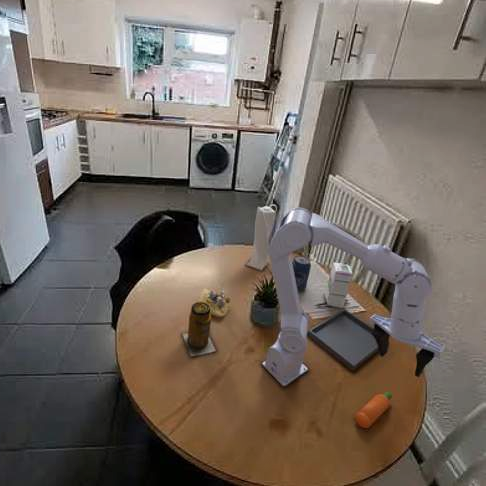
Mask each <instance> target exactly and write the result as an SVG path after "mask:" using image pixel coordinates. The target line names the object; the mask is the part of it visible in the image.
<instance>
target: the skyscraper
mask: <svg viewBox="0 0 486 486" xmlns="http://www.w3.org/2000/svg"><path fill="white" fill-rule="evenodd" d="M272 206H274V207H275V210H274V209H273V208H272ZM277 211H278V207H277V205H276V204H274V203H272V204H270V205H269V206H267V205H265V206H263V207H260V206H257V209H256V214H255V220H254V221H255V222H254V241H253V245H252V250H251V255H250V260H249V261H248V262H247V263H246V264H245V266H246V267H249V268H252V269H254V270H257V271H260V272H262V271H263V270H264V269H265V268H266V267H267V266H268V264H269V262H268V259H269V255H268V247H269V244H270V242H269V241H270V240H269V238H270V236H271V234H272V232H273V228H274V225H275V220H276V214H277Z"/></svg>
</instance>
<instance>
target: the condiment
mask: <svg viewBox="0 0 486 486" xmlns="http://www.w3.org/2000/svg"><path fill="white" fill-rule="evenodd" d="M211 319H212V314H210V306H209V305H208V304H207V303H205V302H198V301H197V302H194V303H193V304H192V305H191V308H190V313H189V317H188V332H187V333H182V337H183V340H184V343H185V345H186V347H187V351H188V353H189V356H190V357H197V356H202V355H207V354H210V353H214V352H216V348H215V347H214V344H213V342H212V340H211V338H210V332H211V323H212V320H211Z"/></svg>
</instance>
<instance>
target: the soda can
mask: <svg viewBox="0 0 486 486" xmlns="http://www.w3.org/2000/svg"><path fill="white" fill-rule="evenodd" d="M291 260H292V265H293V270H294V276H295V281H296V286H297V291H298V292H303V291H304V290H306V288H307V286H308V280H309V276H310V272H311V268H312V264H311V259H310V258H308V257H307V256H304V255H295V256H294V257H293V259H291Z"/></svg>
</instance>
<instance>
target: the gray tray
mask: <svg viewBox="0 0 486 486" xmlns="http://www.w3.org/2000/svg"><path fill="white" fill-rule="evenodd" d="M373 328H374V326H372V325H371V324H369V323H367V322H365V321H364V320H362V319H361V318H360V317H358V316H356V315H355V314H353V313H352V312H350V311H349V310H347V309H346V308H342V309H341V310H340V311H338V312H337V313H334V314H333V315H331V316H329V317H328V318H326V319H325V320H323V321H321V322H320V323H318V324H316V325H315V326H312V327H311V328H308V330H307V337H309V338H310V339H312V340H313V341H314V342H315V343H317V344H318V345H319V346H320V347H321V348H322V349H324V350H325V351H326V352H327V353H329V354H330V355H332V356H333V357H334V358H335V359H337V361H339V362H340V363H342V365H344V366H345V367H346V368H348V369H349V370H350V371H351V372H353V371H355V370H356V369H357V368H358V367H360V366H361V365H362V364H363V363H364V362H366V361H367V360H368V359H370V358H371V357H372V356H373V355H375V354H376V353H377V352H379V348H378V345H377V342H376V340H375V338H374V336H373V335H372V332H371V331H372V329H373Z"/></svg>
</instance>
